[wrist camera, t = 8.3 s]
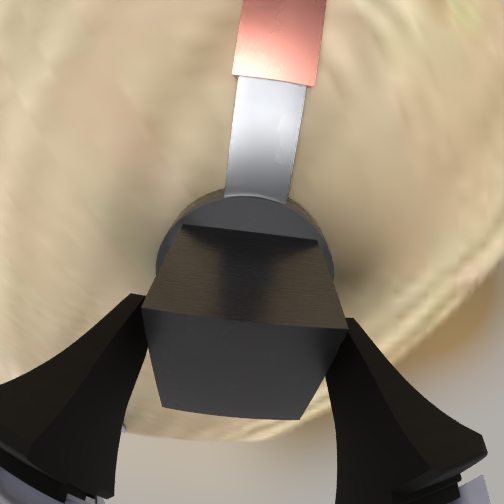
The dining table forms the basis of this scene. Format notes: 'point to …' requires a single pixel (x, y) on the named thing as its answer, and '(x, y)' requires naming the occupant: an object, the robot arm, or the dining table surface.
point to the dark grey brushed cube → (242, 323)
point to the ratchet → (265, 125)
